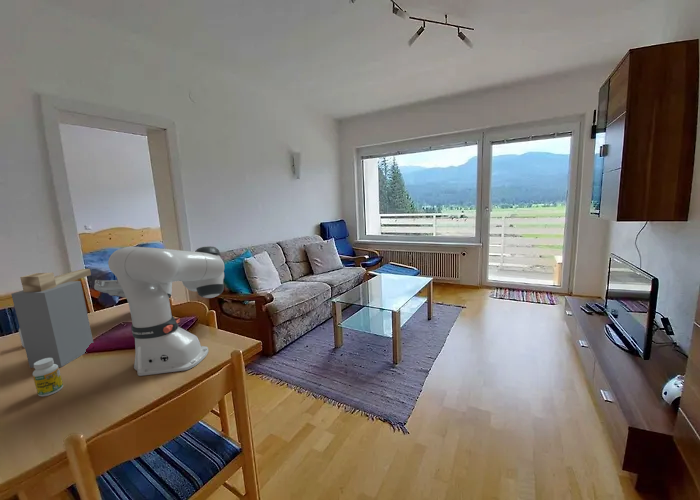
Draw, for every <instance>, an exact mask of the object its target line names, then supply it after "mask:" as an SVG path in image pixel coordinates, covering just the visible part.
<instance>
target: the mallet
mask: <svg viewBox="0 0 700 500" xmlns="http://www.w3.org/2000/svg"><path fill="white" fill-rule="evenodd" d="M91 275H92V273H91V269H90V268H80V269H78V270H73V271H71V272H67V273H63V274H59V275H56V276H55V274H54V272H34V273H31V274H28V275H22V276H20V277H19V279H20V282H21V287H22V289H23V291H24V292H39V291H45V290H48V289H51V288H54V287H56V286H57V285H60V284H63V283H67V282H70V281H77V280H79V279H82V278H86V277H89V276H91Z"/></svg>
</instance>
